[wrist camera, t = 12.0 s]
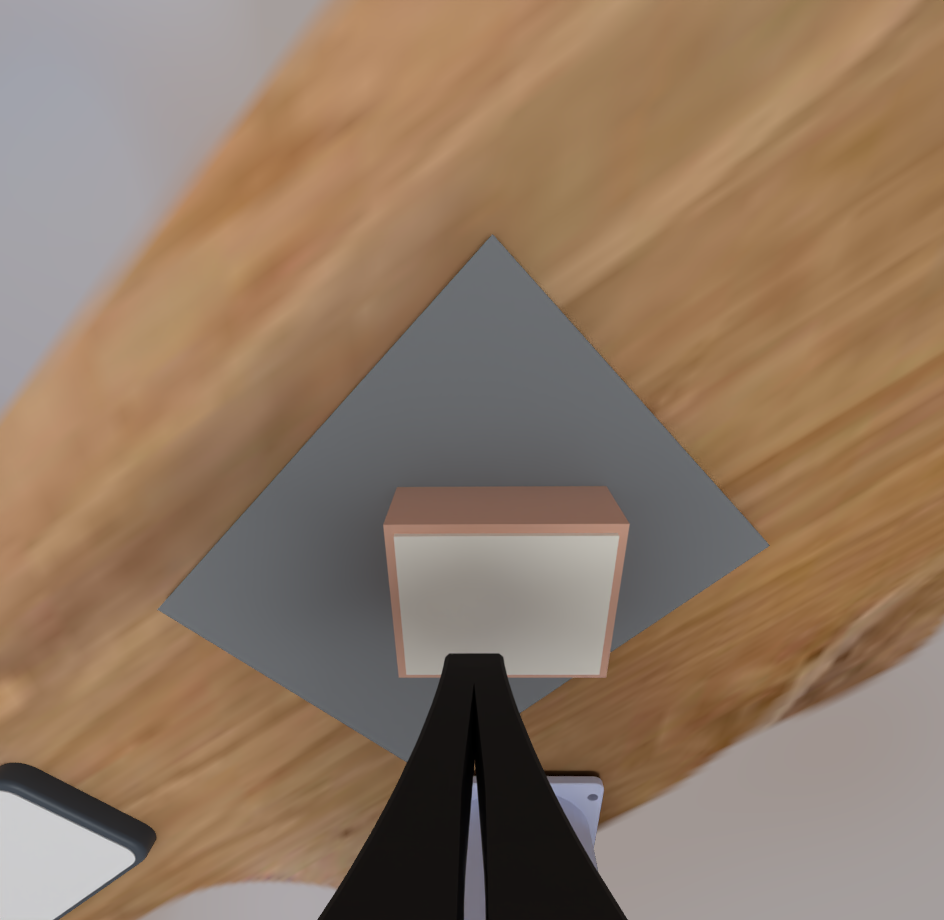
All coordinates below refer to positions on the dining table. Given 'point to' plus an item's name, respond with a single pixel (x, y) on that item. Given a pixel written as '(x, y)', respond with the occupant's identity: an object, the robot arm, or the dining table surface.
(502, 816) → the robot arm
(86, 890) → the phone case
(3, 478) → the dining table surface
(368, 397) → the mat
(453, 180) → the dining table surface
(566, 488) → the tile
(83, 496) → the dining table surface
